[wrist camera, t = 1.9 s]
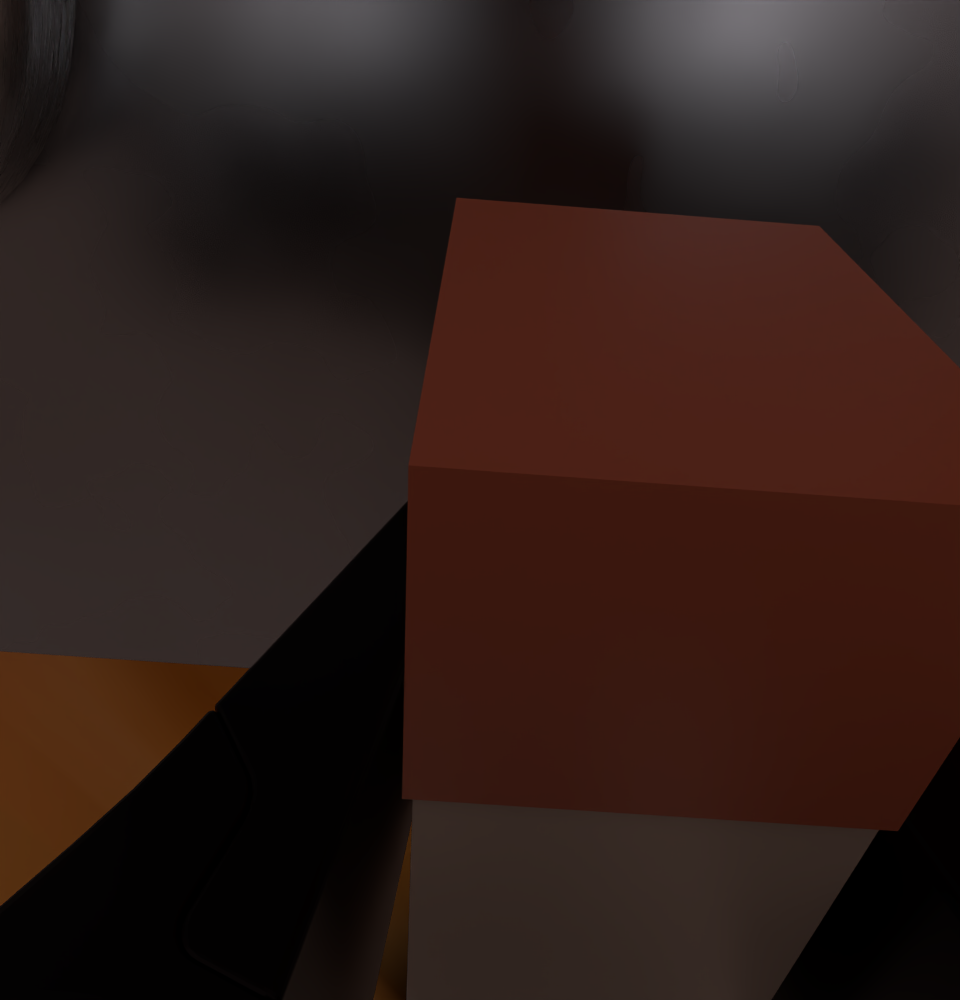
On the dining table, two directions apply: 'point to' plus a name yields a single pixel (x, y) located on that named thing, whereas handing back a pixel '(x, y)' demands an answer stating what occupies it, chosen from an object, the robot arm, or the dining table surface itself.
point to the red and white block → (665, 600)
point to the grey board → (368, 252)
